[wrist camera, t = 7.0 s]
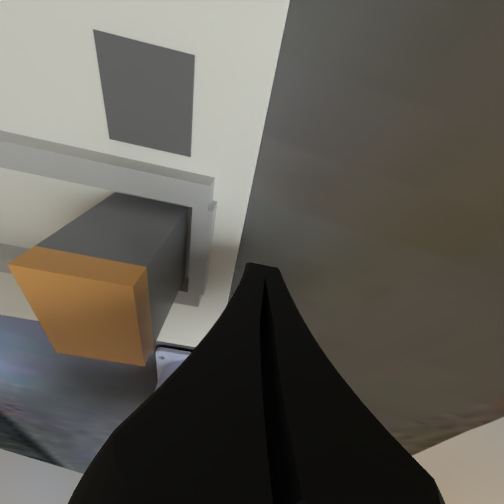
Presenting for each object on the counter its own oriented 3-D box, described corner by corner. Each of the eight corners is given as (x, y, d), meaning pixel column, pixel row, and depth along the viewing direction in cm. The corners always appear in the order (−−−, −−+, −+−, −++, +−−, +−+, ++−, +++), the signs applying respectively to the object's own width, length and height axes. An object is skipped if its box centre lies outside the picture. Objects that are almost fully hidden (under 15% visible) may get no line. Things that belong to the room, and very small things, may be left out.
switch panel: (221, 332, 18) (215, 364, 16) (-56, 285, 16) (-103, 313, 14) (289, -1, 7) (297, -35, 5) (-465, -212, 6) (-856, -373, 4)
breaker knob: (184, 276, 12) (144, 366, 8) (126, 265, 12) (56, 352, 8) (187, 207, 10) (132, 286, 6) (115, 192, 9) (7, 263, 6)
